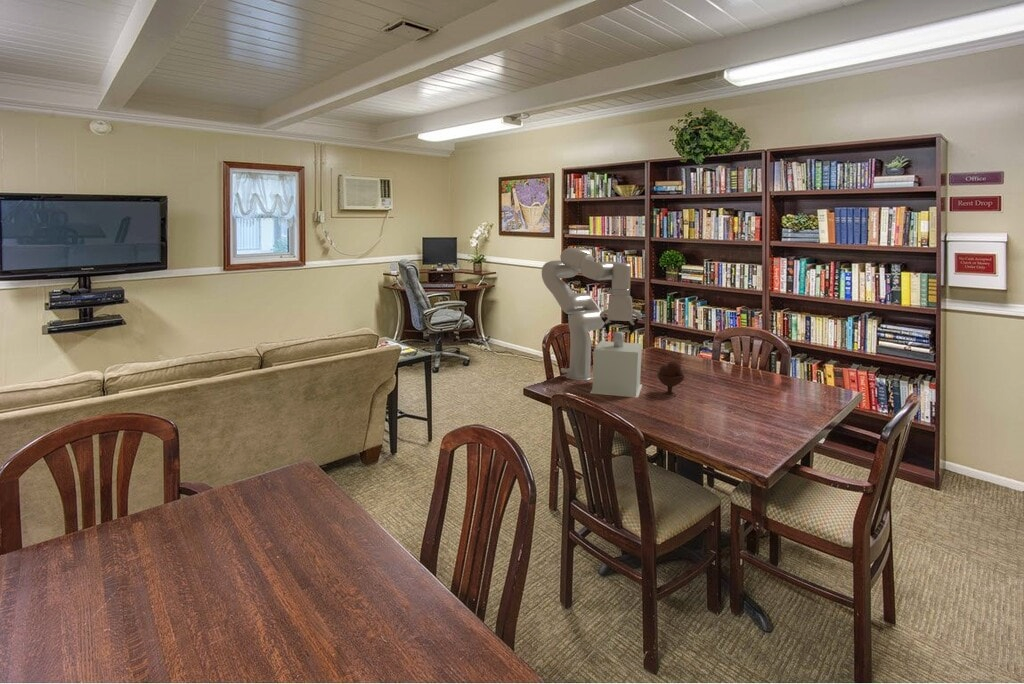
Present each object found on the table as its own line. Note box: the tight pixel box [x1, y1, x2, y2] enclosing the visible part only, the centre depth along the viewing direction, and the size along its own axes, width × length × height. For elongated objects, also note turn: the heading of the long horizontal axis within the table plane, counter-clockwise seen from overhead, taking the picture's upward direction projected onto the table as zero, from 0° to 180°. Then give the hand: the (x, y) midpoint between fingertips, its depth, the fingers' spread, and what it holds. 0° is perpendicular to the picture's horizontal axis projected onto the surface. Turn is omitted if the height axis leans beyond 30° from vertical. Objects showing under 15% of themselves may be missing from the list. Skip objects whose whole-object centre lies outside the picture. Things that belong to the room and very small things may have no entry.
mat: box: [589, 383, 643, 398], centre depth 245 cm, size 20×20×1 cm
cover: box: [591, 331, 643, 398], centre depth 243 cm, size 18×18×25 cm
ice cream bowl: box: [656, 361, 685, 398], centre depth 238 cm, size 11×11×15 cm
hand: (619, 333), depth 240 cm, fingers open, 9 cm apart
